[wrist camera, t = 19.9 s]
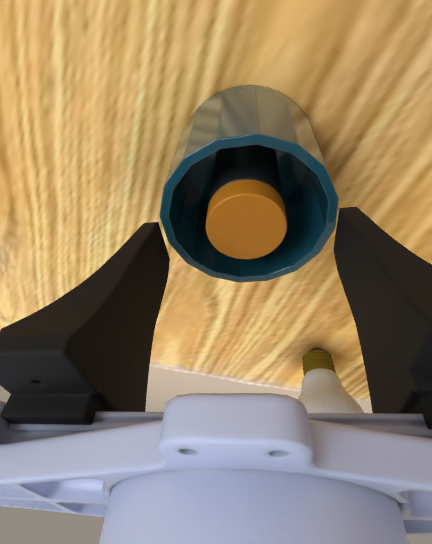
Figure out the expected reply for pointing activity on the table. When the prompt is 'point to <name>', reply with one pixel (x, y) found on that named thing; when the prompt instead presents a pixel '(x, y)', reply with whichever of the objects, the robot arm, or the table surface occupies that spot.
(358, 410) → the light bulb
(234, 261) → the tumbler
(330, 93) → the table surface
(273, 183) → the glue stick
